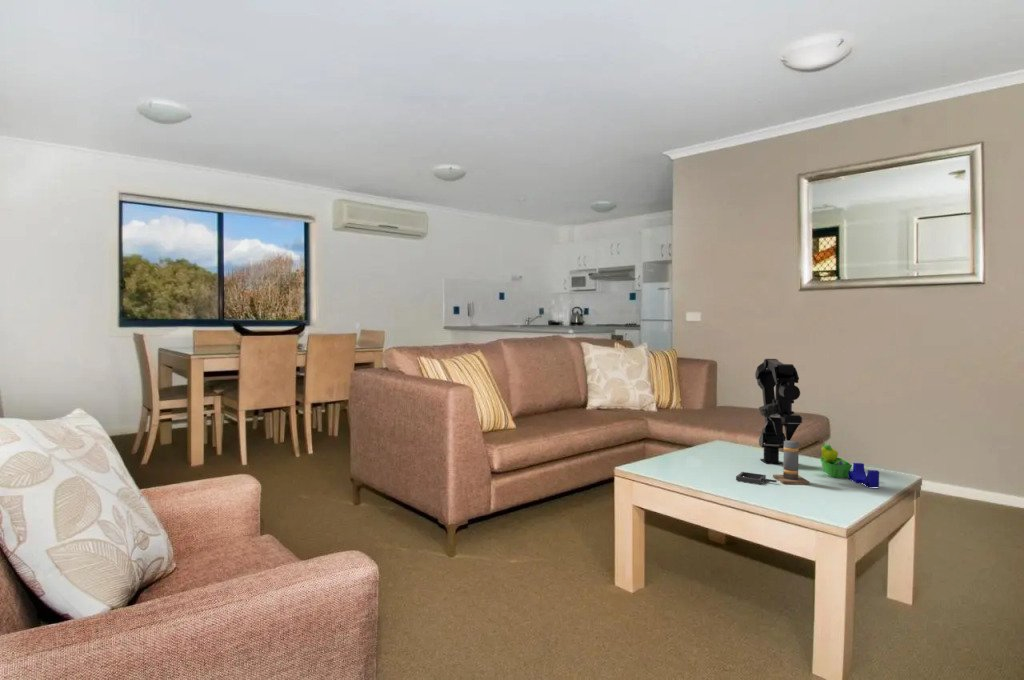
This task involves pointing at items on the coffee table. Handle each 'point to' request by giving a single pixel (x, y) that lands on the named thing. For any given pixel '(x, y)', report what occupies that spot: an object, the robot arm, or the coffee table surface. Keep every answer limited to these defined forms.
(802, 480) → the walnut pad
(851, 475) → the cable clip
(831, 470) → the fruit basket
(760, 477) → the collar
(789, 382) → the robot arm
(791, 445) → the orange-banded grey cylinder
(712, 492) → the coffee table surface
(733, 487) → the coffee table surface
